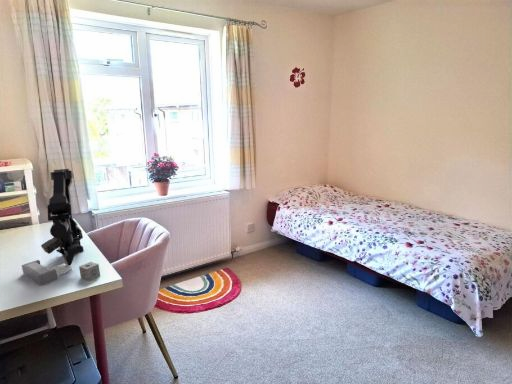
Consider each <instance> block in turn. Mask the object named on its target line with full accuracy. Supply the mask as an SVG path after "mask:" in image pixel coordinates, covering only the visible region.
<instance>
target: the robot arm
mask: <svg viewBox="0 0 512 384" xmlns="http://www.w3.org/2000/svg"><path fill="white" fill-rule="evenodd" d="M49 173H50V179H51V180H50V181H53V186H52V187H53V188H52V190H53V191H52V196H51V197H50V198H49V199H48V204H47V220H48V221H49V222H50V221H51V222H52V225H51V226H50V229H49V233H50V235H51V236H52V238H50V239H49V240H47V241H46V242H43V243H42V244H41V245H40V247H41V248H42V250H43V251H44V253H47V254H48V255H50V254H51V253H53V252H57V253H59V254H61V256H62V257H63V259H64V261H65V264H66V265H68V266H71V265H72V263H73V260H74V258H75V256H76V255H77V254H81V253H84V246H82V245H81V240H82V239H83V238H84V237H83V232H82V230H81V228H80V227H79V225H78V223H77V222H76V220H74V216H73V207H72V200H71V193H70V192H71V191H70V188H71V186H72V184H73V179H74V173H73V171H72V170H70V168H62V169H61V168H60V169H53V171H52V172H49Z"/></svg>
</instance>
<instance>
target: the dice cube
mask: <svg viewBox="0 0 512 384" xmlns="http://www.w3.org/2000/svg"><path fill="white" fill-rule="evenodd" d="M78 267H79V268H78V269H79V273H80V274H79V275H80V279H81V280H85V281H87V282H89V281H92V280H94V279H96V278H99V277H101V272H100V265H99V263H96V262H93V261H89V262H87V263H84V264H82V265H80V266H78Z"/></svg>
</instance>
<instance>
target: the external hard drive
mask: <svg viewBox="0 0 512 384" xmlns="http://www.w3.org/2000/svg"><path fill="white" fill-rule="evenodd" d="M47 269H48V270H50V271H51V270H54V269H55V270H56V273H57V276H60V275H62V274H65V273H67V272H70V271H73V267H71V265H69V266H68V265H67V263H64V262H63V263H60V264H58V265H54V266H51V267H48V268H47Z"/></svg>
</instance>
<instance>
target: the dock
mask: <svg viewBox="0 0 512 384" xmlns="http://www.w3.org/2000/svg"><path fill="white" fill-rule="evenodd" d="M21 269H22V273H23V275H24V276H25V277H27V278H28V279H30V280H31V281H32V282H33V283H35V284H36V285H38V286H40V287H41V286H43V285H46V284H50V283H53V282H55V281H58V275H57V273H56V270H55V269H54V270H51V271H50V270H48V268H47V267H45V266H43V265H41V261H40V259H37V260H34V261H31V262H28V263H24V264H22V265H21Z"/></svg>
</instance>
